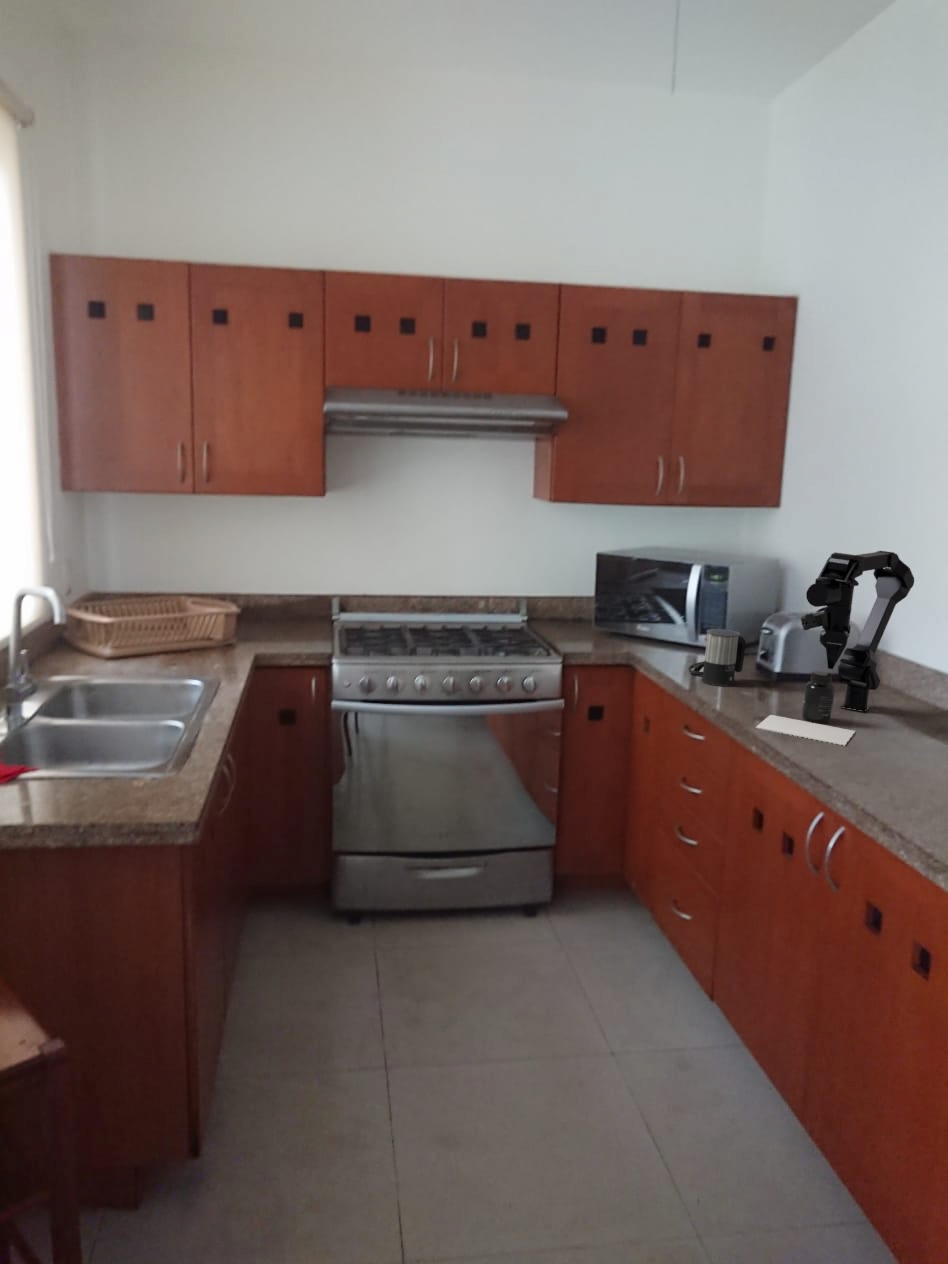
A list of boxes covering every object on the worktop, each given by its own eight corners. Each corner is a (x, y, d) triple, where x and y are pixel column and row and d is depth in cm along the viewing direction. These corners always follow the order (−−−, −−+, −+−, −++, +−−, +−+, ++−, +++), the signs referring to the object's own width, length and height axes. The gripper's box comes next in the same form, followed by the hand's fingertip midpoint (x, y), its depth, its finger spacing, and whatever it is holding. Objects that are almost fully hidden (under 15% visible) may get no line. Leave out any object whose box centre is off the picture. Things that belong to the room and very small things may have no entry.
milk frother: (726, 688, 255) (732, 636, 252) (674, 677, 264) (679, 627, 261) (745, 680, 266) (751, 630, 263) (694, 670, 275) (700, 621, 272)
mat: (770, 715, 229) (770, 714, 229) (855, 732, 219) (855, 731, 219) (755, 728, 217) (755, 727, 217) (844, 746, 207) (844, 744, 207)
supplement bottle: (795, 716, 230) (801, 670, 227) (817, 715, 232) (823, 669, 230) (814, 724, 223) (820, 676, 221) (836, 723, 226) (843, 676, 223)
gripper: (808, 595, 239) (801, 653, 243) (801, 605, 223) (794, 668, 226) (854, 600, 235) (846, 659, 238) (850, 610, 218) (842, 674, 221)
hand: (831, 665), depth 231 cm, fingers open, 9 cm apart
